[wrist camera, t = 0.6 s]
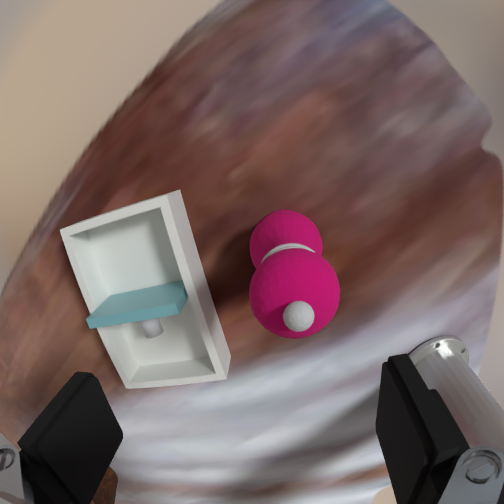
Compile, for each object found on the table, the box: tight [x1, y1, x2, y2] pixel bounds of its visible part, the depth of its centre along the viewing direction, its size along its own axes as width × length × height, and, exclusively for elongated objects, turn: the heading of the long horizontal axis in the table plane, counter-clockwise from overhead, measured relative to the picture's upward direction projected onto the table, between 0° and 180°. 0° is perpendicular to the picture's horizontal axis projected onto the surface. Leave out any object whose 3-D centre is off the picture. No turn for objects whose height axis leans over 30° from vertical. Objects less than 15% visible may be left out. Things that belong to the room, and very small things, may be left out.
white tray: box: [60, 190, 231, 389], centre depth 37 cm, size 22×14×5 cm, turn 14°
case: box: [90, 467, 118, 504], centre depth 44 cm, size 18×20×18 cm
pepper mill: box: [249, 210, 340, 339], centre depth 27 cm, size 7×7×20 cm
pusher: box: [86, 280, 188, 338], centre depth 35 cm, size 5×11×7 cm, turn 104°
